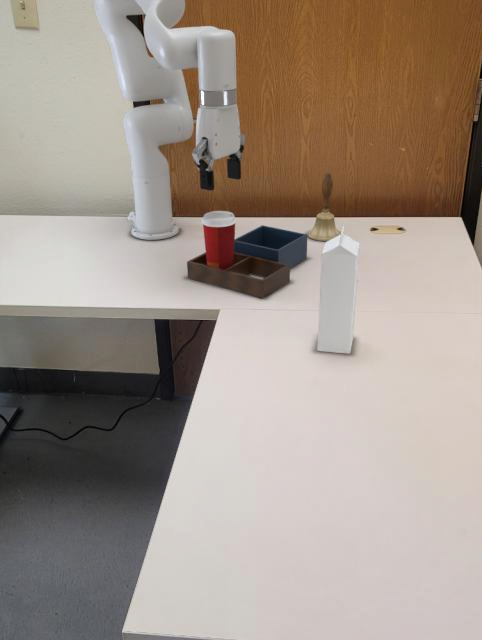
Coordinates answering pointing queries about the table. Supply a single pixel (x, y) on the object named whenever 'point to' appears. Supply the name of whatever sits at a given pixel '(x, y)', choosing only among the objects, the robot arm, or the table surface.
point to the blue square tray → (273, 245)
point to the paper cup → (219, 238)
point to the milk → (338, 294)
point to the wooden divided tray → (242, 274)
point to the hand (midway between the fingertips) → (221, 183)
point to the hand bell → (325, 215)
